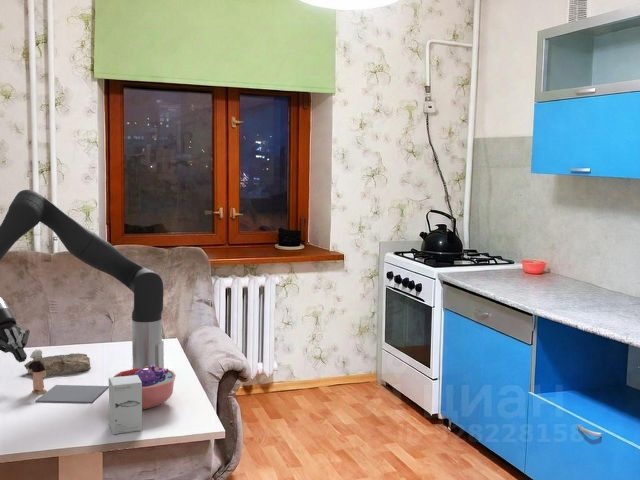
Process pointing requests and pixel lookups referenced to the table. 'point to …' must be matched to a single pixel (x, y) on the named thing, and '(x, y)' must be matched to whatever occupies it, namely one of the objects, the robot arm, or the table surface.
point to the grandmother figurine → (37, 372)
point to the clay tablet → (64, 364)
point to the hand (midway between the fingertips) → (23, 360)
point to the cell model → (153, 384)
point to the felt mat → (72, 394)
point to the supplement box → (125, 404)
